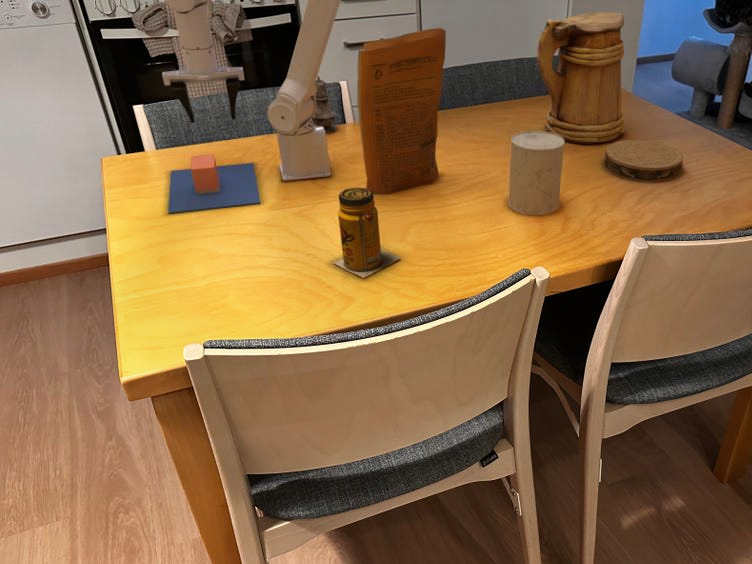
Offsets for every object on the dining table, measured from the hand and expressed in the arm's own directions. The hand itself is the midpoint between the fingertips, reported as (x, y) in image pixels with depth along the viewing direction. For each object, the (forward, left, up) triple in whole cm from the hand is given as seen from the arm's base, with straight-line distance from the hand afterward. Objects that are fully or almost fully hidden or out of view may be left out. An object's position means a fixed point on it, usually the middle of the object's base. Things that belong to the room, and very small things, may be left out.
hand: (213, 119), depth 138 cm
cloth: (+2, +11, -9) cm, 15 cm away
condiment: (-21, +48, -10) cm, 53 cm away
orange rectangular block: (+3, +11, -9) cm, 15 cm away
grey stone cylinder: (-55, +35, -10) cm, 66 cm away
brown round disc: (-84, +24, -10) cm, 88 cm away
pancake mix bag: (-34, +20, -10) cm, 41 cm away
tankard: (-79, +1, -10) cm, 80 cm away
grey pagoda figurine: (-23, -16, -10) cm, 30 cm away
